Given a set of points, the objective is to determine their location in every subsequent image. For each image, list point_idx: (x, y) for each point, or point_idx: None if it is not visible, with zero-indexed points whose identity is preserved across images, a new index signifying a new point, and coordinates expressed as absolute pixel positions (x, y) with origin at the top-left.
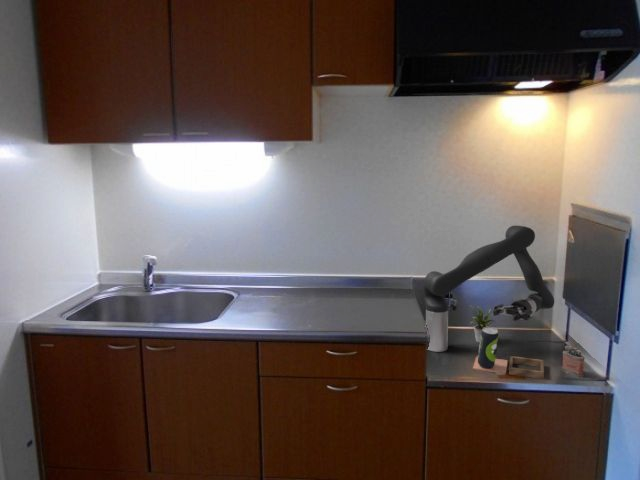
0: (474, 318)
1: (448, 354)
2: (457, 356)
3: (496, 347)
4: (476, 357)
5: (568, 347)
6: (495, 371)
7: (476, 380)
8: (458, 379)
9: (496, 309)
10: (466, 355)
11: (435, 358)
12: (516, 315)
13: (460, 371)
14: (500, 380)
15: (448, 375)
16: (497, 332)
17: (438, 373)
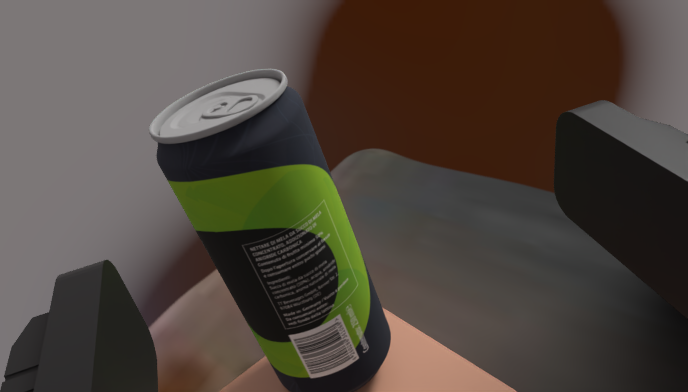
0: None
1: (632, 276)
2: (583, 307)
3: (216, 266)
4: (501, 386)
5: None
6: (242, 376)
7: None
8: None
9: (676, 140)
10: (592, 365)
11: None
12: (55, 308)
13: (364, 242)
14: (157, 347)
15: (353, 194)
16: (149, 132)
17: (391, 174)
